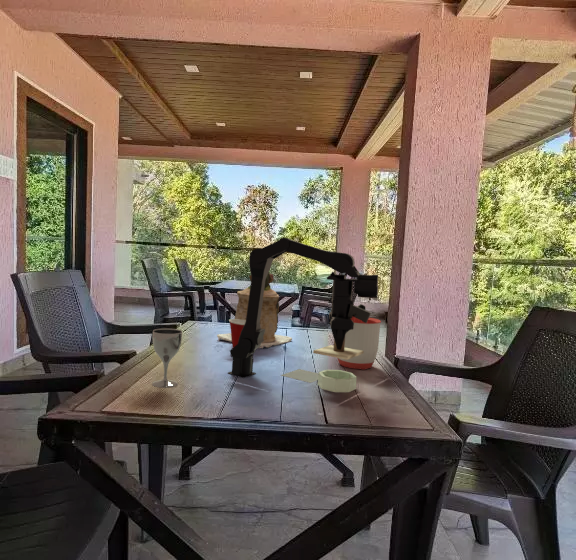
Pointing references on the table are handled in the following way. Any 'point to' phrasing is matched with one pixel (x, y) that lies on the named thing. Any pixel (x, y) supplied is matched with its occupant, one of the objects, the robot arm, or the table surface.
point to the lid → (338, 351)
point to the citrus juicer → (362, 343)
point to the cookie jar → (267, 314)
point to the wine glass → (166, 351)
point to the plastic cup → (236, 329)
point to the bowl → (337, 381)
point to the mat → (302, 375)
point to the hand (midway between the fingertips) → (338, 348)
